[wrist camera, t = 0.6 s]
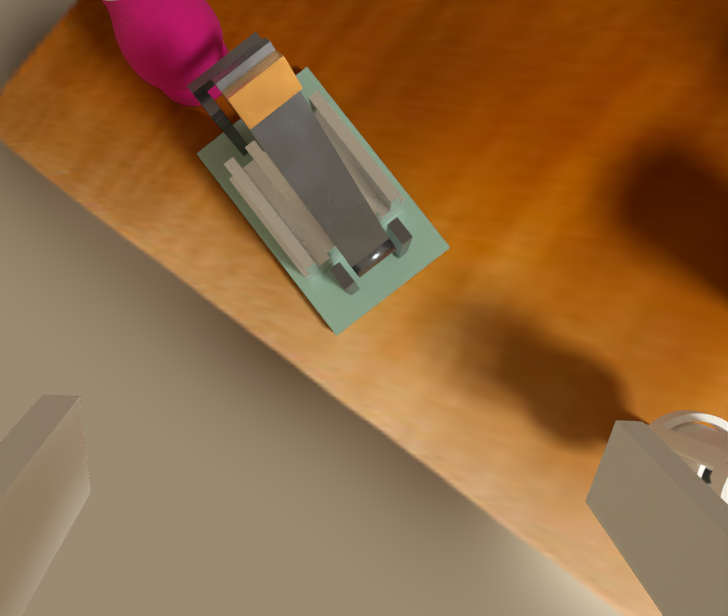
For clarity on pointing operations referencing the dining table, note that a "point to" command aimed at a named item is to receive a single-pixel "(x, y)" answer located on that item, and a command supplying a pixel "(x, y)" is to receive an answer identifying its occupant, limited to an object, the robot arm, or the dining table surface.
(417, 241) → the mainboard
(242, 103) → the grey bar
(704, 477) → the white plastic part
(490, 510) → the dining table surface
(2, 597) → the robot arm
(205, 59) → the pepper mill
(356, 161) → the grey blocky device
